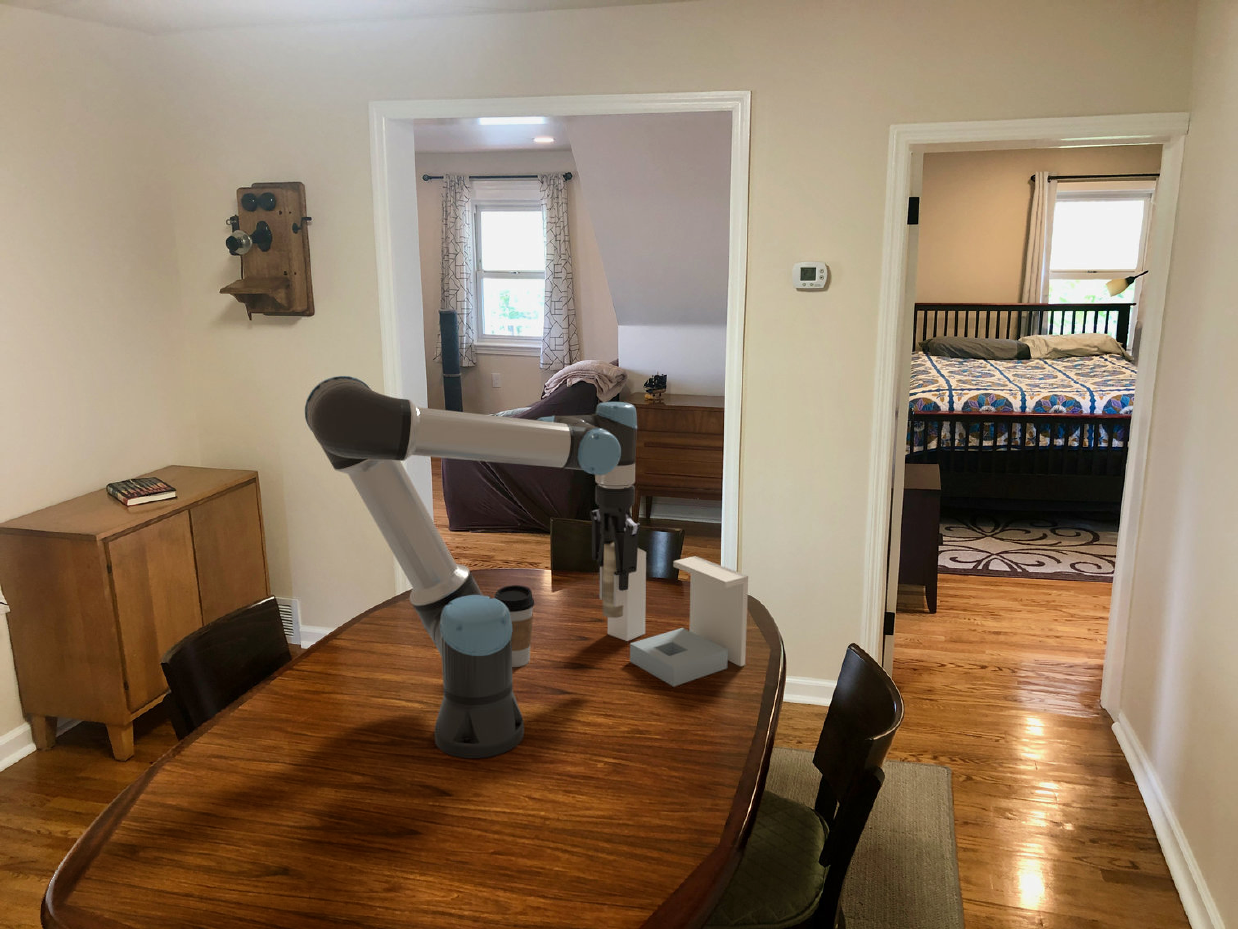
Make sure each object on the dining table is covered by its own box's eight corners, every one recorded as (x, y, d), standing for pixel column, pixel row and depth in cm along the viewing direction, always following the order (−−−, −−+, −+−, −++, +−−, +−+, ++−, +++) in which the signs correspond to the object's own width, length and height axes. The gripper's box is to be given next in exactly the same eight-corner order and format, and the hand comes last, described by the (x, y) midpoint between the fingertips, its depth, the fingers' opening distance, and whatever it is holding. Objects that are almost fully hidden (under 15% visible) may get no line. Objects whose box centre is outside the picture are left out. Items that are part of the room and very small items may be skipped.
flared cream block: (723, 672, 178) (725, 582, 174) (672, 646, 190) (673, 561, 186) (745, 665, 181) (748, 576, 177) (693, 639, 194) (695, 555, 190)
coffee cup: (539, 653, 186) (537, 585, 183) (531, 671, 178) (529, 600, 175) (499, 651, 187) (497, 584, 184) (489, 669, 179) (487, 598, 176)
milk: (627, 642, 193) (627, 544, 188) (607, 634, 197) (606, 538, 192) (645, 633, 197) (646, 538, 192) (625, 626, 201) (625, 532, 196)
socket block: (673, 686, 171) (673, 667, 171) (630, 661, 183) (630, 643, 182) (727, 668, 180) (727, 649, 179) (682, 645, 191) (682, 627, 190)
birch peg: (610, 619, 171) (611, 549, 168) (598, 612, 174) (599, 544, 172) (627, 615, 173) (628, 546, 171) (615, 608, 177) (616, 540, 174)
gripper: (658, 490, 164) (655, 610, 169) (605, 473, 178) (603, 585, 182) (626, 495, 160) (623, 618, 164) (574, 478, 173) (572, 592, 178)
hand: (613, 601), depth 173 cm, fingers closed on birch peg, 4 cm apart
